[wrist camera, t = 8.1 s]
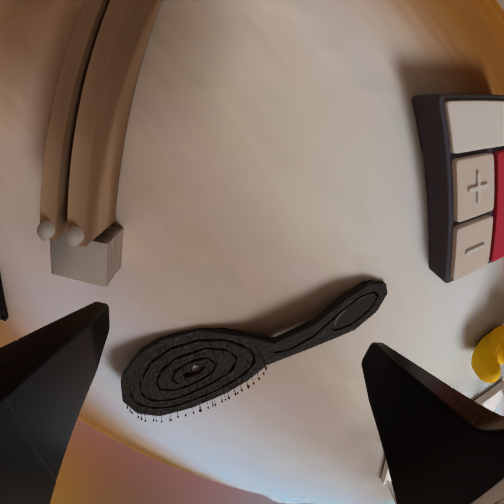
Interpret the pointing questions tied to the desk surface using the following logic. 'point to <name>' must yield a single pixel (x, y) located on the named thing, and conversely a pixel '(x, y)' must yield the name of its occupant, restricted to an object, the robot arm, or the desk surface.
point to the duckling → (489, 355)
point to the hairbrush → (231, 355)
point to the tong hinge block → (89, 257)
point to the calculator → (463, 179)
